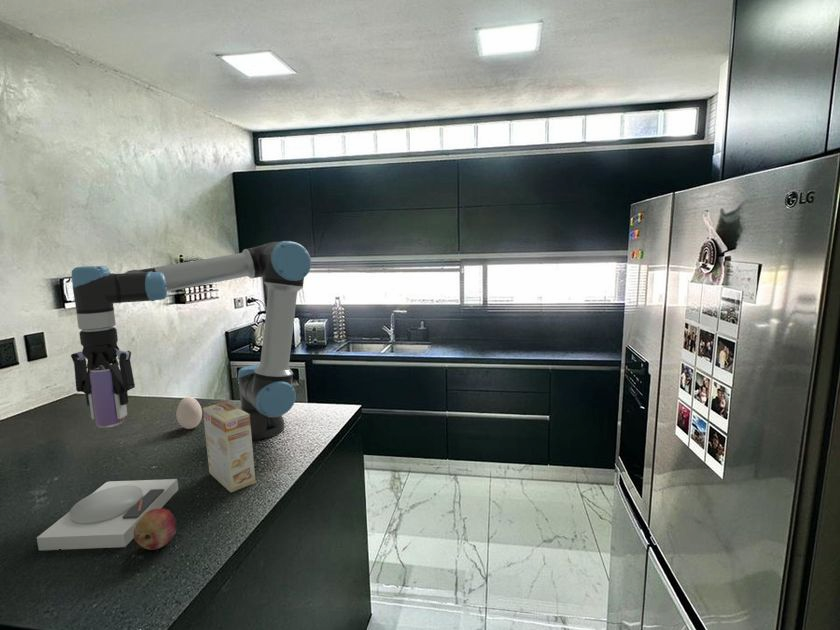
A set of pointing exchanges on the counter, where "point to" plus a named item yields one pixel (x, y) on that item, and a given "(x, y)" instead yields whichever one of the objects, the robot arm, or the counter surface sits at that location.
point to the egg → (189, 413)
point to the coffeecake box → (229, 445)
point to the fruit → (155, 529)
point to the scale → (107, 515)
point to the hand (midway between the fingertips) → (109, 416)
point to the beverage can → (104, 398)
